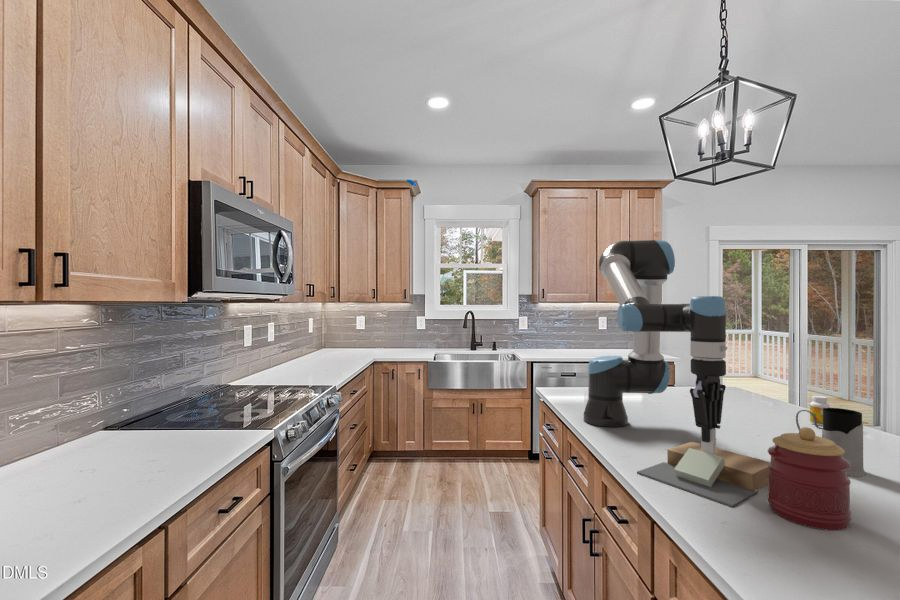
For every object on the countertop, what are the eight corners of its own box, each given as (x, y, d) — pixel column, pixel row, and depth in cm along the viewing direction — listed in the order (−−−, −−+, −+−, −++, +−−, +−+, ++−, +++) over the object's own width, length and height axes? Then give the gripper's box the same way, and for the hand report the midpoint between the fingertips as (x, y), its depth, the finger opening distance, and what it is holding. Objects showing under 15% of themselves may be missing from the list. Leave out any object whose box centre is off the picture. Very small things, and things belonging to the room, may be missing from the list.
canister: (827, 538, 80) (826, 440, 80) (753, 507, 92) (753, 423, 92) (865, 523, 85) (865, 432, 85) (791, 496, 97) (790, 416, 97)
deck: (667, 464, 116) (667, 449, 116) (691, 455, 122) (691, 441, 122) (752, 491, 99) (752, 474, 99) (775, 480, 106) (775, 463, 106)
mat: (636, 473, 110) (636, 471, 110) (663, 463, 117) (663, 462, 117) (732, 507, 92) (732, 505, 92) (757, 493, 98) (757, 491, 98)
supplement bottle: (806, 421, 157) (806, 394, 157) (822, 422, 157) (822, 395, 157) (816, 426, 152) (816, 398, 152) (833, 426, 151) (833, 398, 151)
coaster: (676, 476, 107) (674, 469, 107) (691, 454, 111) (689, 447, 110) (710, 487, 100) (708, 480, 100) (725, 464, 104) (723, 457, 104)
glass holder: (859, 479, 106) (858, 417, 106) (789, 461, 118) (789, 405, 118) (871, 471, 111) (870, 412, 111) (803, 455, 123) (802, 401, 123)
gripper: (710, 362, 101) (711, 464, 101) (737, 358, 108) (737, 453, 108) (678, 358, 108) (679, 455, 107) (705, 355, 115) (706, 445, 115)
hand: (708, 454), depth 108 cm, fingers closed
